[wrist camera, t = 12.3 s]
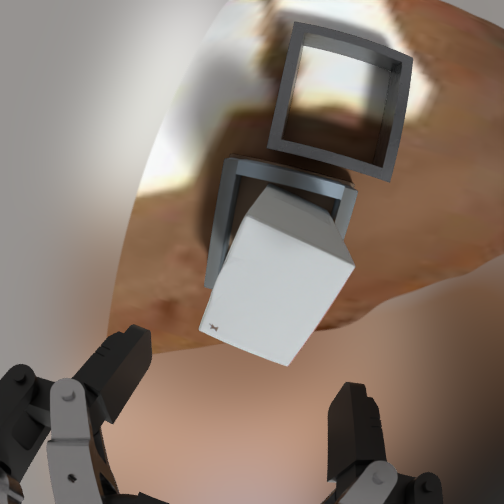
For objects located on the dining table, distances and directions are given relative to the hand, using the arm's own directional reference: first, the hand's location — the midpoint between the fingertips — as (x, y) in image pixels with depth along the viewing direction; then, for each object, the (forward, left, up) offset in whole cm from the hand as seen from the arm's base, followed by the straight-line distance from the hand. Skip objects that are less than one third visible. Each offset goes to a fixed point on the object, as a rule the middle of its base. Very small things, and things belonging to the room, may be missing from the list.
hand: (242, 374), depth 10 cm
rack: (0, 0, -19) cm, 19 cm away
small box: (0, 0, -18) cm, 18 cm away
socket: (-3, -14, -19) cm, 24 cm away
